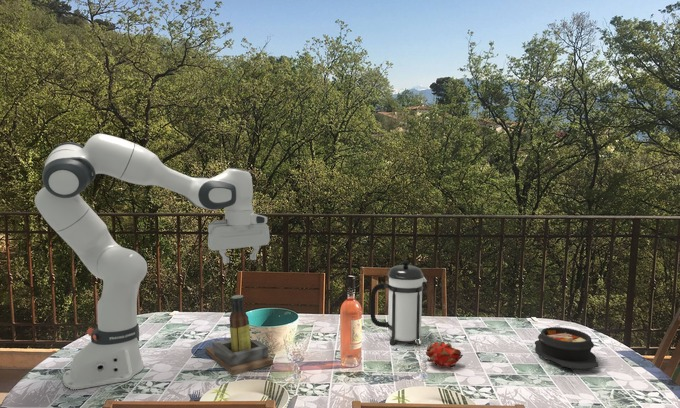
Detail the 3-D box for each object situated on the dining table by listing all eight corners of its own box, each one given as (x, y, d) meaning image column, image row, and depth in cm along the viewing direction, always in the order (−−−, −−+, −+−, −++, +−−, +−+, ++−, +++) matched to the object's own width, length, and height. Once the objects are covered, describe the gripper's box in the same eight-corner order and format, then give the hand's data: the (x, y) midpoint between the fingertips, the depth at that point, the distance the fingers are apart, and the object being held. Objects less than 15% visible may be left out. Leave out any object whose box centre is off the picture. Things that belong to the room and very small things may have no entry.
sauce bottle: (253, 351, 163) (251, 293, 161) (248, 359, 157) (246, 299, 155) (234, 351, 164) (231, 293, 162) (228, 359, 157) (226, 299, 155)
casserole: (521, 345, 175) (522, 322, 174) (572, 344, 176) (573, 321, 175) (555, 375, 150) (556, 349, 149) (614, 374, 151) (615, 348, 150)
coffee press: (402, 329, 190) (403, 253, 187) (433, 341, 177) (435, 260, 175) (368, 339, 179) (369, 259, 177) (399, 352, 167) (400, 266, 164)
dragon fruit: (422, 368, 158) (458, 374, 158) (427, 362, 151) (466, 369, 150) (423, 342, 162) (459, 348, 162) (428, 335, 155) (466, 341, 155)
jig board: (232, 375, 149) (232, 359, 148) (205, 352, 166) (205, 338, 166) (273, 364, 157) (273, 349, 157) (243, 343, 175) (243, 329, 174)
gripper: (211, 221, 147) (212, 267, 149) (271, 217, 159) (272, 259, 161) (204, 219, 152) (204, 263, 154) (262, 215, 165) (263, 256, 166)
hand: (239, 261), depth 157 cm, fingers open, 8 cm apart
